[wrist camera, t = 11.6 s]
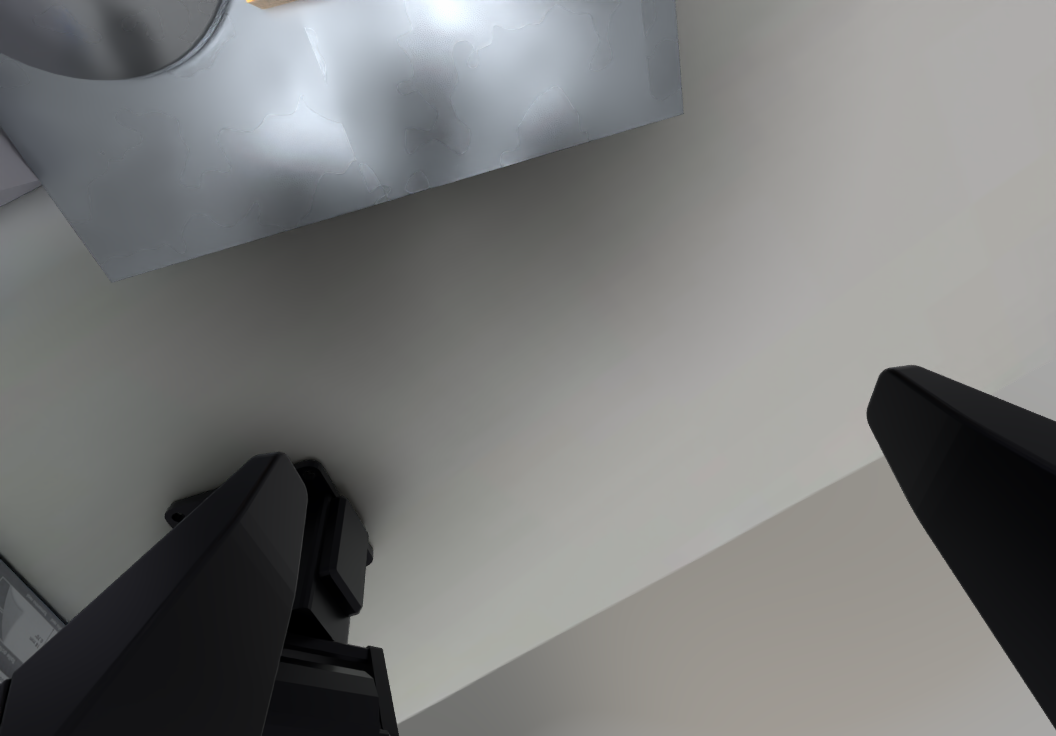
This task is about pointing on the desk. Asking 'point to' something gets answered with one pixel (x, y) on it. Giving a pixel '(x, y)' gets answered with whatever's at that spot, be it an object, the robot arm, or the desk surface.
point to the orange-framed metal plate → (306, 105)
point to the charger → (14, 172)
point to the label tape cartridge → (21, 623)
